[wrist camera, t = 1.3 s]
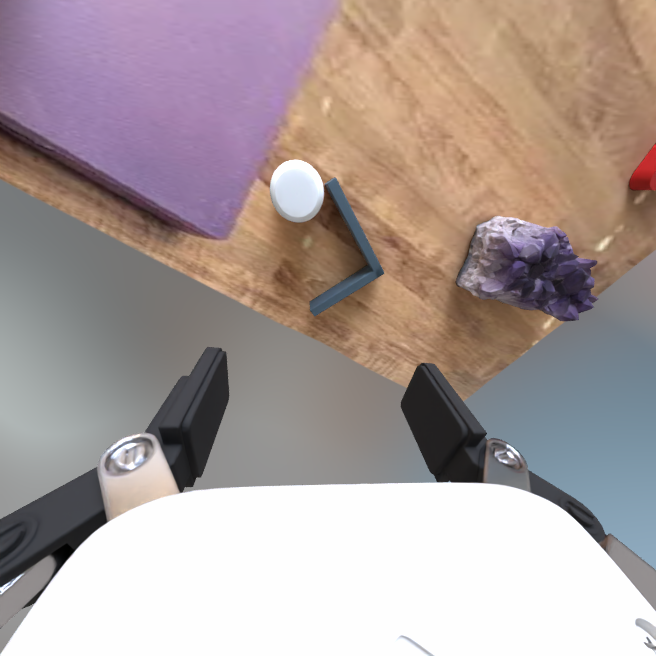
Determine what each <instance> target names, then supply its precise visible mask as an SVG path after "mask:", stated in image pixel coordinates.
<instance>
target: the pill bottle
mask: <svg viewBox="0 0 656 656" xmlns="http://www.w3.org/2000/svg"><path fill="white" fill-rule="evenodd" d="M270 196H271V200H272V203H273V205H274V207H275V209H276V210H277V212H278V213H279V214H280V215H281V216H282V217H284V218H285V219H287V220H289V221H292V222H305V221H308V220H310V219H312V218H313V217H314V216H315V215H316V214H317V213H318V211H319V210H320V208H321V206H322V203H323V199H324V188H323V183H322V180H321V178H320V176H319V174H318V173H317V171H316V170H315V169H314V168H313V167H312V166H311V165H309V164H307V163H306V162H303V161H300V160H291V161H287V162H285V163H283V164H282V165H280V166H279V167H278V168H277V169H276V171H275V172H274V174H273V176H272V179H271V183H270Z"/></svg>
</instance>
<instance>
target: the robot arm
mask: <svg viewBox="0 0 656 656" xmlns="http://www.w3.org/2000/svg"><path fill="white" fill-rule="evenodd" d="M228 400H229V385H228V370H227V356H226V352H224V351H222V349H221V348H214V347H207V348H206V349H205V351H204V353H203V354H202V356H201V358H200V359H199V361H198V362H197V364H196V366H195V367H194V369H193V371H192V372H191V374H190V375H189V376H182V377H181V378H180V379H179V380H178V382H177V383H176V385H175V386H174V388H173V389H172V391H171V393H170V394H169V396H168V397H167V399H166V400H165V402H164V403H163V405H162V406H161V408H160V409H159V411H158V413H157V414H156V415H155V417H154V419H153V420H152V422H151V423H150V425H149V426H148V428H147V429H146V431H145V432H144V433H136V434H132V435H129V436H126V437H124V438H122V439H120V440H118V441H116V442H115V443H114V444H112V445H111V446H110V447H109V448H107V449H106V451H105V452H104V453H103V454H102V455H101V457H100V459H99V461H98V466H97V467H96V468H94V469H92V470H91V471H89V472H87V473H85V474H83V475H81V476H79V477H78V478H76V479H74V480H72V481H70V482H68V483H67V484H65V485H63V486H61V487H59V488H57V489H55V490H54V491H52V492H50V493H48V494H46V495H44V496H43V497H41V498H39V499H37V500H35V501H33V502H31V503H30V504H28V505H26V506H24V507H22V508H20V509H19V510H17V511H15V512H13V513H11V514H9V515H7V516H6V517H4V518H2V519H0V629H1V628H2V627H3V626H4V625H5V624H6V623H7V622H8V621H9V620H10V619H11V618H12V617H13V616H14V615H15V614H16V613H17V612H19V611H20V610H21V609H23V608H25V607H28V606H30V605H32V604H34V603H35V602H36V603H35V604H34V606H33V607H32V608H31V610H30V611H29V613H28V614H27V616H26V617H25V619H24V620H23V621H22V623H21V624H20V626H19V627H18V629H17V630H16V632H15V633H14V635H13V636H12V638H11V639H10V640H9V642H8V644H7V645H6V646H5V648H4V650H3V651H2V652H1V654H0V656H656V570H655V569H654V568H653V567H651V566H650V565H649V564H648V563H646V562H645V561H644V560H642V559H641V558H640V557H639V556H638V555H636V554H635V553H634V552H633V551H632V550H630V549H629V548H628V547H627V546H625V545H624V544H623V543H622V542H620V541H619V540H618V539H617V538H615V537H614V536H613V535H611V534H608V535H606V534H605V532H604V530H603V527H602V525H601V524H600V522H599V521H598V519H597V518H596V517H595V516H594V515H593V513H592V512H591V511H590V510H589V509H588V508H586V507H585V506H584V505H583V504H582V503H580V502H579V501H577V500H576V499H575V498H573V497H571V496H570V495H568V494H567V493H565V492H563V491H562V490H560V489H558V488H557V487H555V486H553V485H552V484H550V483H548V482H547V481H545V480H544V479H542V478H540V477H539V476H537V475H535V474H534V473H532V472H531V471H529V470H528V466H527V463H526V461H525V459H524V458H523V456H522V455H521V454H520V453H519V452H518V450H516V449H515V448H514V447H513V446H511V445H510V444H508V443H507V442H505V441H502V440H500V439H496V438H491V439H489V440H487V439H486V438H485V436H486V434H487V433H486V431H485V430H484V429H483V427H482V426H481V425H480V423H479V422H478V421H477V419H476V418H475V417H474V415H473V414H472V413H471V412H470V410H469V409H468V408H467V406H466V405H465V404H464V402H463V401H462V400H461V398H460V397H459V396H458V394H457V393H456V392H455V390H454V389H453V388H452V386H451V385H450V384H449V382H448V381H447V380H446V378H445V377H444V376H443V375H442V373H441V372H440V371H439V369H438V368H437V367H436V365H435V364H431V363H421V364H420V365H419V366H417V368H416V370H415V372H414V375H413V377H412V379H411V381H410V383H409V385H408V388H407V390H406V392H405V394H404V397H403V399H402V401H401V408H402V411H403V413H404V415H405V418H406V420H407V422H408V424H409V426H410V429H411V431H412V433H413V435H414V437H415V440H416V442H417V444H418V446H419V448H420V451H421V453H422V455H423V457H424V460H425V462H426V464H427V466H428V469H429V471H430V472H431V473H432V474H434V476H435V478H436V481H437V482H448V481H449V480H450V482H451V483H390V484H339V485H295V486H259V487H235V488H216V489H205V490H195V491H189V492H183V490H184V488H185V487H193V485H194V482H195V480H196V477H201V476H202V474H203V471H204V469H205V466H206V463H207V460H208V457H209V454H210V451H211V449H212V446H213V443H214V440H215V437H216V434H217V431H218V429H219V426H220V423H221V420H222V417H223V415H224V412H225V409H226V406H227V403H228Z"/></svg>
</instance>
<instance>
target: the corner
mask: <svg viewBox="0 0 656 656" xmlns="http://www.w3.org/2000/svg"><path fill="white" fill-rule="evenodd" d="M325 187H326V189H327V190H328V192H329V194H330V196H331V198H332V200H333V202H334V203H335V205H336V207H337V209H338V211H339V213H340V214H341V216H342V218H343V220H344V222H345V224H346V226H347V227H348V229H349V231H350V233H351V235H352V237H353V238H354V240H355V242H356V244H357V246H358V248H359V249H360V251H361V253H362V255H363V257H364V259H365V261H366V262H367V264H368V265H367V266H365V267H364V268H362V269H360V270H359V271H357V272H356V273H354V274H353V275H351V276H349V277H348V278H346V279H345V280H343V281H341V282H340V283H338V284H337V285H335V286H334V287H332V288H330V289H329V290H327V291H326V292H324V293H323V294H321V295H319V296H318V297H316V298H315V299H313V300H312V301H310V311H311V312H312V314H313V315H314V316H316V315H318V314H319V313H321V312H323V311H324V310H326V309H328V308H329V307H331V306H332V305H334V304H336V303H337V302H339V301H341V300H342V299H344V298H345V297H347V296H349V295H350V294H352V293H354V292H355V291H357V290H358V289H360V288H362V287H363V286H365V285H367V284H368V283H370V282H371V281H373V280H375V279H376V278H378V277H380V276H381V275H383V274H384V271H383V269H382V267H381V265H380V263H379V261H378V259H377V258H376V256H375V254H374V252H373V250H372V248H371V246H370V244H369V242H368V240H367V238H366V236H365V234H364V232H363V230H362V228H361V226H360V224H359V222H358V220H357V218H356V216H355V214H354V212H353V211H352V209H351V207H350V205H349V203H348V201H347V199H346V197H345V195H344V193H343V191H342V189H341V187H340V185H339V183H338V181H337V179H336V178H332V179H331V180H329V181H328V182H327V183H325Z"/></svg>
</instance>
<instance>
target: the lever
mask: <svg viewBox="0 0 656 656" xmlns="http://www.w3.org/2000/svg"><path fill="white" fill-rule="evenodd" d="M629 186H630V189H632V190H656V144H655V145H654V146H653V148H652V149H651V150H650V152H649V153H648V154H647V156H646V157H645V158H644V160H643V161H642V162H641V164H640V165H639V166H638V168H637V169H636V170H635V172H634V173H633V175H632V177H631V179H630V183H629Z"/></svg>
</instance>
